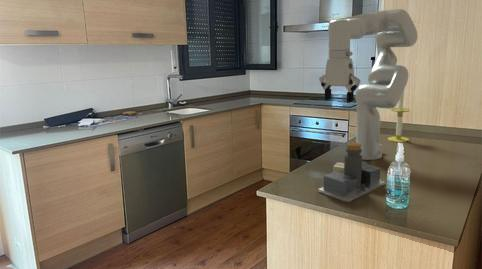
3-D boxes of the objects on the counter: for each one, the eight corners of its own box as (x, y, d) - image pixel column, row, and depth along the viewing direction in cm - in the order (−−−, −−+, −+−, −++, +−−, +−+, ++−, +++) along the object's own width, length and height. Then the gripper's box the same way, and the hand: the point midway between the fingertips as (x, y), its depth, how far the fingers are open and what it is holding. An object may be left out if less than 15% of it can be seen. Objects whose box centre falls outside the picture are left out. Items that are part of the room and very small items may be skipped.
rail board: (355, 175, 141) (356, 160, 140) (384, 184, 132) (385, 168, 131) (318, 191, 128) (318, 175, 126) (347, 202, 119) (348, 185, 117)
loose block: (336, 171, 146) (337, 162, 145) (347, 173, 144) (347, 163, 143) (332, 176, 142) (333, 166, 141) (343, 177, 140) (343, 167, 139)
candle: (405, 137, 192) (410, 73, 183) (411, 142, 182) (417, 75, 174) (385, 137, 193) (389, 74, 185) (390, 142, 183) (394, 76, 175)
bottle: (362, 183, 131) (364, 142, 127) (358, 189, 126) (361, 147, 122) (345, 180, 134) (347, 140, 130) (341, 186, 129) (343, 145, 125)
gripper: (366, 54, 132) (364, 101, 136) (325, 53, 144) (325, 97, 149) (354, 56, 127) (353, 105, 132) (313, 55, 140) (314, 100, 144)
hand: (338, 100), depth 140 cm, fingers open, 9 cm apart
